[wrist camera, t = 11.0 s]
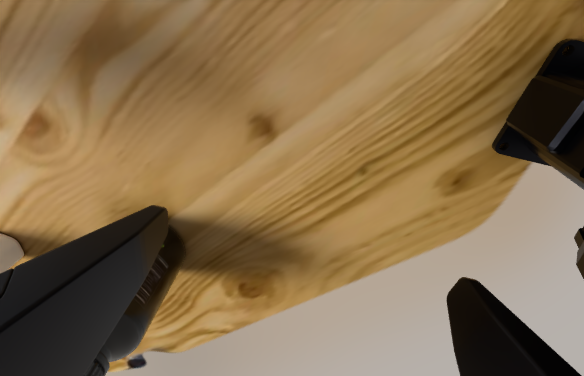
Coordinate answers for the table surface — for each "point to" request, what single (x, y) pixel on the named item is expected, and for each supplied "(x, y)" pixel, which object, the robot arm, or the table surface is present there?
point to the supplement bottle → (142, 306)
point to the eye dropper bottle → (9, 252)
